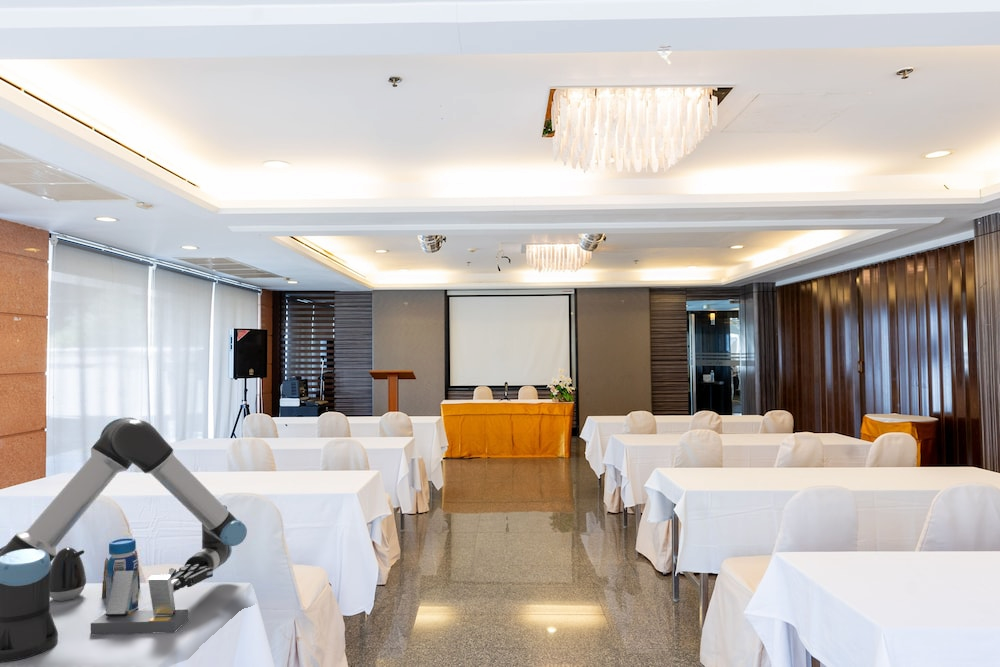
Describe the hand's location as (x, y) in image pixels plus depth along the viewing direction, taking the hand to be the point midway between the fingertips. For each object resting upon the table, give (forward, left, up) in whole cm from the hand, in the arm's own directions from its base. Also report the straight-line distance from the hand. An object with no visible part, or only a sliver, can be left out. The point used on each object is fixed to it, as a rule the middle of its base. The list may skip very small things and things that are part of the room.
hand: (164, 592), depth 178 cm
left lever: (-8, +10, -6) cm, 14 cm away
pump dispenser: (-8, +47, -10) cm, 49 cm away
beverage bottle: (-2, +22, -10) cm, 24 cm away
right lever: (0, 0, -6) cm, 6 cm away
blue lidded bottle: (+4, +38, -10) cm, 39 cm away
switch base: (-4, +5, -9) cm, 11 cm away
